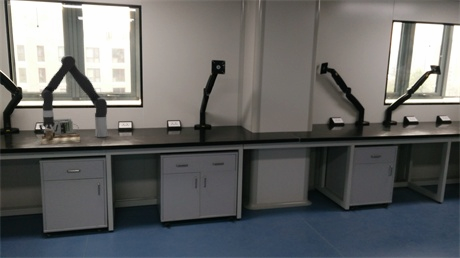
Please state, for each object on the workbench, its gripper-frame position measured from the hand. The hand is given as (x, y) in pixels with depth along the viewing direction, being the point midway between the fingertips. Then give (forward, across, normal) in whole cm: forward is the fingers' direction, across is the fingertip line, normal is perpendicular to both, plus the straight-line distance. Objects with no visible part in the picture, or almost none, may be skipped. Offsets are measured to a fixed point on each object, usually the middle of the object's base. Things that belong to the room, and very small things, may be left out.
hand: (49, 136), depth 290 cm
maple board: (+4, -8, +1) cm, 9 cm away
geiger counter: (+4, -10, -31) cm, 32 cm away
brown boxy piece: (+1, 0, +2) cm, 2 cm away
